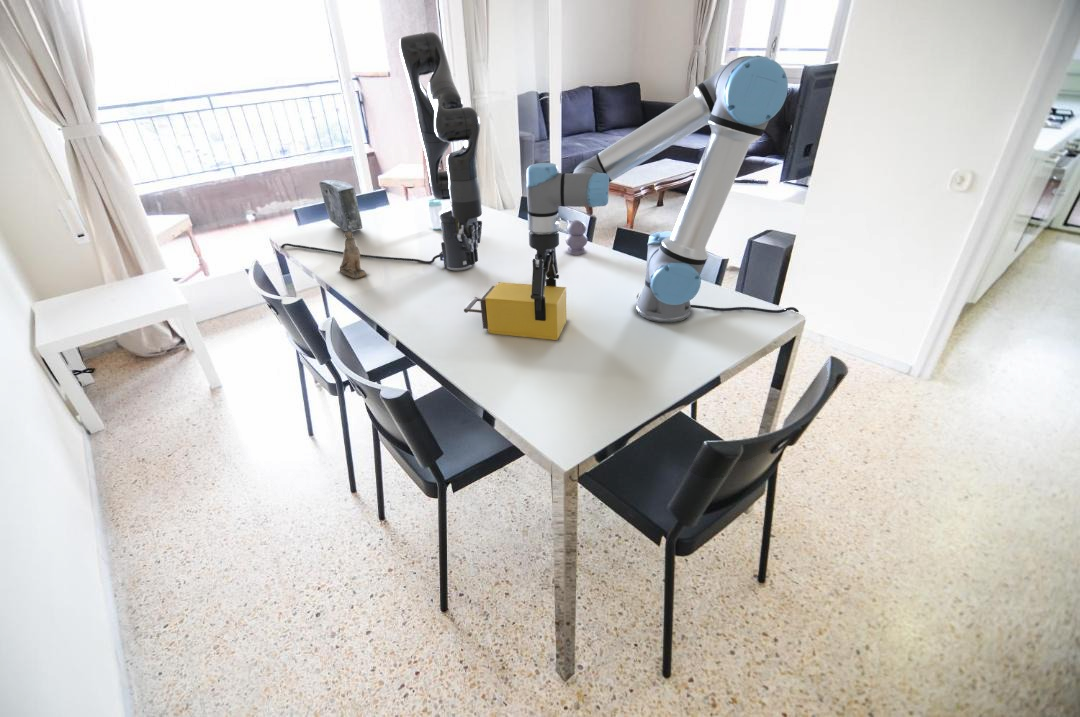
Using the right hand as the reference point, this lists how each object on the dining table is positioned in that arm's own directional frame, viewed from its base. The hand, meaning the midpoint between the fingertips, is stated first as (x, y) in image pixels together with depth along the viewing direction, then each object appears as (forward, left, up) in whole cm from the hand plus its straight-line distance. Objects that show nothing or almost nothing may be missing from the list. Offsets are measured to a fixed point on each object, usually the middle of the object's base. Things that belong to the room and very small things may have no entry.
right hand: (546, 310), depth 134 cm
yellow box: (+5, -2, -6) cm, 8 cm away
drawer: (+9, -5, -5) cm, 12 cm away
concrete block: (+68, -116, -6) cm, 135 cm away
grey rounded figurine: (-23, -58, -6) cm, 63 cm away
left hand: (+18, -9, +12) cm, 24 cm away
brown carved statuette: (+59, -59, -6) cm, 84 cm away
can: (+28, -107, -6) cm, 110 cm away
